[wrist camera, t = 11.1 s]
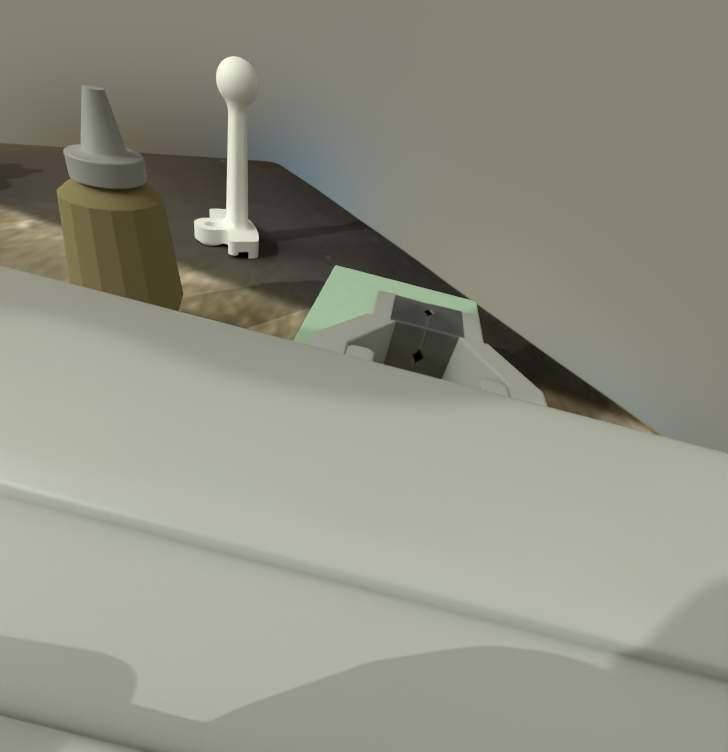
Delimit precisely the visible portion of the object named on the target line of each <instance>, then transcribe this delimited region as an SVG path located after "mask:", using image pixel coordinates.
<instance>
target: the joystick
mask: <svg viewBox="0 0 728 752" xmlns="http://www.w3.org/2000/svg"><path fill="white" fill-rule="evenodd" d="M216 82H217V86H218V89H219V91H220V93H221V95H222V96H223V98H224V99H225V101H226V103H227V106H228V158H227V205H226V209H210V218H200V219H197V220H195V221H194V228H195V238H196V239H197V240H199V241H200V242H201V243H203V244H206V245H212V246H216V245H221V244H227V245H228V253H229V254H230V255H235V256H236V255H238V254H239V252H249V254H248V259H250V258H258V246H259V235H258V231H257V229H256V227H255V226H254V224H253V223H252V222H251V221H250V220H249V219H248V175H247V112H248V109H249V107H250V105H251V104H252V103H253V101H254V100H255V99H256V97H257V94H258V90H259V82H258V78H257V74H256V72H255V70H254V69H253V67H252V66H251V65H250V64H249V63H248V62H247V61H246V60H244V59H242V58H240V57H236V56H232V57H228V58H226V59H224V60H223V61H222V62H221V63H220V65H219V66H218V69H217V73H216Z"/></svg>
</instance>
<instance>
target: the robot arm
mask: <svg viewBox="0 0 728 752" xmlns="http://www.w3.org/2000/svg"><path fill="white" fill-rule="evenodd" d="M0 752H728V453H725V452H720V451H716V450H713V449H709V448H705V447H701V446H698V445H693V444H690V443H686V442H682V441H678V440H674V439H670V438H667V437H663V436H659V435H655V434H651V433H647V432H644V431H640V430H636V429H632V428H628V427H624V426H620V425H616V424H613V423H609V422H605V421H601V420H597V419H593V418H589V417H585V416H582V415H578V414H574V413H570V412H566V411H562V410H558V409H554V408H551V407H548V406H547V403H546V400H545V397H544V394H543V392H542V391H540V390H539V389H538V388H537V387H536V386H535V385H534V384H532V383H531V382H530V381H529V380H528V379H527V378H526V377H525V376H523V375H522V374H521V373H520V372H519V371H518V370H517V369H516V368H514V367H513V366H512V365H511V364H510V363H509V362H508V361H506V360H505V359H504V358H503V357H502V356H501V355H500V354H499V353H497V352H496V351H495V350H494V349H493V348H492V347H491V346H489V345H488V344H484V342H483V337H482V331H481V326H480V320H479V316H477V315H474V314H469V313H465V312H462V311H458V310H454V309H450V308H446V307H441V306H437V305H433V304H427V303H424V302H420V301H417V300H413V299H409V298H406V297H402V296H399V295H395V294H393V293H389V292H384V291H380V290H379V291H378V293H377V297H376V300H375V304H374V307H373V311H372V314H368V313H366V314H364V315H361V316H358V317H355V318H353V319H350V320H347V321H344V322H342V323H339V324H336V325H333V326H331V327H328V328H325V329H322V330H320V331H317V332H314V333H313V334H312V336H311V338H310V340H309V342H308V344H303V343H299V342H295V341H291V340H288V339H284V338H280V337H276V336H272V335H268V334H264V333H261V332H257V331H253V330H249V329H245V328H241V327H237V326H233V325H230V324H226V323H222V322H218V321H214V320H210V319H206V318H202V317H199V316H195V315H191V314H187V313H183V312H179V311H175V310H171V309H168V308H164V307H160V306H156V305H152V304H148V303H144V302H140V301H137V300H133V299H129V298H125V297H121V296H117V295H113V294H109V293H106V292H102V291H98V290H94V289H90V288H86V287H82V286H78V285H75V284H71V283H67V282H63V281H59V280H55V279H51V278H47V277H44V276H40V275H36V274H32V273H28V272H24V271H20V270H16V269H13V268H9V267H5V266H1V265H0Z"/></svg>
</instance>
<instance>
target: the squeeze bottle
mask: <svg viewBox="0 0 728 752" xmlns="http://www.w3.org/2000/svg"><path fill="white" fill-rule="evenodd" d="M63 151H64V156H65V160H66V164H67V168H68V172H69V175H70V178H72V179H69V180H68V181H66V182H65V183H64V184H63V185H62V186H61V187H59V188H58V189H57V196H58V203H59V210H60V217H61V223H62V230H63V237H64V244H65V251H66V258H67V264H68V271H69V278H70V283H71V284H75V285H78V286H82V287H86V288H90V289H94V290H98V291H102V292H106V293H109V294H113V295H117V296H121V297H125V298H129V299H133V300H137V301H140V302H144V303H148V304H152V305H156V306H160V307H164V308H168V309H171V310H175V311H178V310H179V307H180V304H181V300H182V296H183V291H182V286H181V281H180V276H179V272H178V267H177V262H176V257H175V253H174V248H173V243H172V238H171V234H170V229H169V224H168V219H167V215H166V210H165V205H164V200H163V197H162V196H161V195H160V193H159V192H158V191H157V190H155V189H154V188H153V187H152V186H150V185H148V184H146V181H147V176H146V168H145V160H144V158H143V157H142V155H141V154H139V153H137V152H135V151H132V150H129V149H126V148H125V146H124V143H123V140H122V137H121V134H120V132H119V129H118V126H117V123H116V120H115V118H114V115H113V112H112V109H111V107H110V104H109V101H108V99H107V96H106V93H105V90H104V89H103V88H100V87H95V86H89V85H83V86H82V104H81V144H77V145H70V146H68V147H66V148H65V149H64V150H63Z"/></svg>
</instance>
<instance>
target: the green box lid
mask: <svg viewBox="0 0 728 752" xmlns="http://www.w3.org/2000/svg"><path fill="white" fill-rule="evenodd" d="M379 290H380V291H384V292H389V293H393V294H395V295H399V296H402V297H406V298H409V299H413V300H417V301H420V302H424V303H427V304H433V305H437V306H441V307H446V308H450V309H454V310H458V311H462V312H465V313H469V314H474V315H477V316H478V311H477V304H476V302H475V301H471V300H468V299H464V298H460V297H456V296H452V295H448V294H444V293H441V292H437V291H433V290H429V289H425V288H421V287H417V286H414V285H410V284H406V283H402V282H398V281H394V280H391V279H387V278H383V277H379V276H375V275H371V274H367V273H364V272H360V271H356V270H352V269H348V268H344V267H340V266H337V265H335V267H334V269H333V271H332V272H331V274H330V276H329V278H328V280H327V281H326V283H325V285H324V287H323V289H322V290H321V292H320V294H319V296H318V297H317V299H316V301H315V303H314V305H313V306H312V308H311V310H310V312H309V314H308V315H307V317H306V319H305V321H304V322H303V324H302V326H301V328H300V330H299V331H298V333H297V335H296V337H295V339H294V340H293V341H295V342H299V343H303V344H308V342H309V340H310V338H311V336H312V334H313V333H314V332H317V331H320V330H322V329H325V328H328V327H331V326H333V325H336V324H339V323H342V322H344V321H347V320H350V319H353V318H355V317H358V316H361V315H364V314H366V313H368V314H372V311H373V307H374V304H375V300H376V297H377V293H378V291H379Z"/></svg>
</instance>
